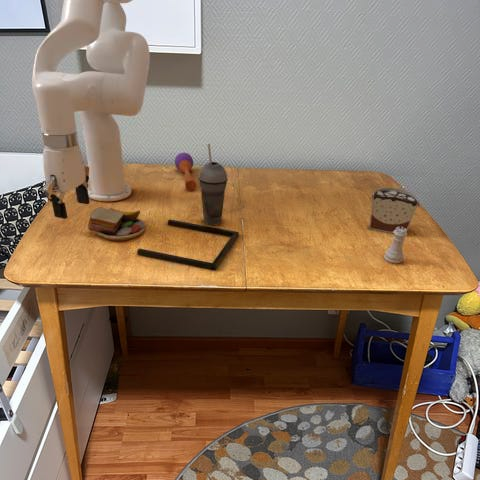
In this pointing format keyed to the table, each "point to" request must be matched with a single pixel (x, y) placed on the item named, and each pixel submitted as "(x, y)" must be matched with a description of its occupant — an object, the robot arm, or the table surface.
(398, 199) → the food container
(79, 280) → the table surface
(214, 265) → the frame
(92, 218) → the toy sandwich meal
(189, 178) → the purple maraca
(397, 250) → the rook chess piece
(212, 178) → the beverage cup
